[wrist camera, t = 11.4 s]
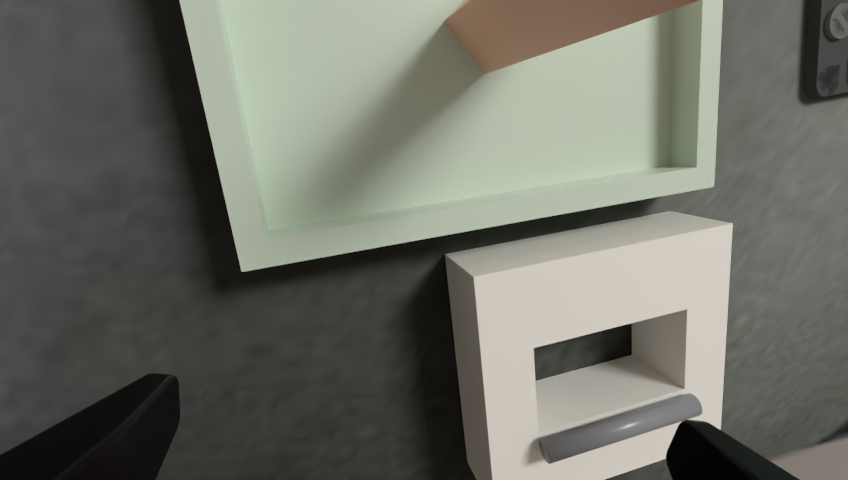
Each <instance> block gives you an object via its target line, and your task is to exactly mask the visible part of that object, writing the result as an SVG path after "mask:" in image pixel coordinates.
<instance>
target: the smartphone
mask: <svg viewBox="0 0 848 480" xmlns="http://www.w3.org/2000/svg"><path fill="white" fill-rule="evenodd" d="M804 91H805V93H806V95H807V96H808V97H811V98H814V97H826V96H831V95H836V94H841V93H846V92H848V0H809V3H808V21H807V38H806V56H805V74H804Z"/></svg>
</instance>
